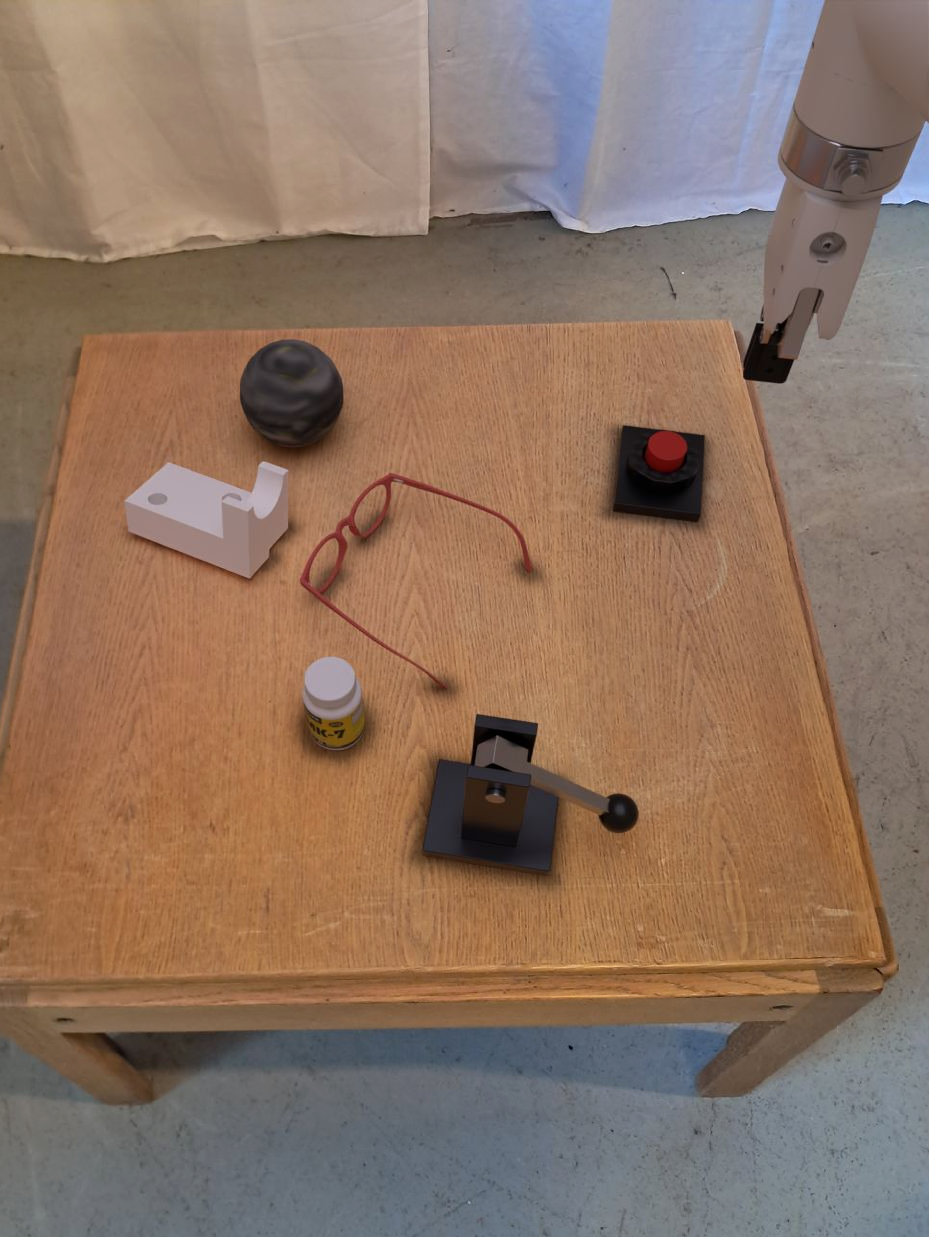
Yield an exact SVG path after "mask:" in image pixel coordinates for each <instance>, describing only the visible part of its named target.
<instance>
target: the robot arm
mask: <svg viewBox="0 0 929 1237" xmlns="http://www.w3.org/2000/svg"><path fill="white" fill-rule="evenodd" d="M926 123H928V124H929V0H824V2H823V5H822V8H821V11H820V15H819V17H818V20H817V25H816V28H815V30H814V34H813V37H812V41H811V44H810V48H809V51H808V55H807V58H806V61H805V64H804V67H803V70H802V74H801V77H800V80H799V83H798V87H797V90H796V94H795V98H794V100H793V104H792V106H791V111H790V113H789V116H788V120H787V123H786V127H785V130H784V133H783V136H782V140H781V143H780V147H779V150H778V153H777V164H778V167H779V169H780V171H781V172H782V174H783V176H784V177H785V181H784V183H783V186H782V189H781V192H780V195H779V198H778V201H777V204H776V208H775V211H774V213H773V217H772V219H771V220H772V221H771V224H770V228H769V231H768V235H767V240H766V246H765V252H764V263H763V264H764V266H763V267H764V268H763V304H762V306H761V310H760V315H759V322H756V323H755V326H754V329H753V332H752V335H751V337H750V340H749V343H748V346H747V349H746V352H745V356H744V358H743V361H742V362H743V364H742V368H743V371H742V379H743V380H745V381H752V382H761V383H769V384H781V385H783V384H784V383H786V382H787V380H788V377H789V376H790V373H791V372H790V371H791V370H792V367H793V366H794V362H795V360H798V359H799V356H800V352H801V349H802V346H803V343H804V340H805V337H806V334H807V331H808V329H809V327H810V325H811V322H812V320H813V318H814V316H815V314H816V321H817V322H816V324H817V332H818V339H819V340H820V339H823V340H826V341H831V340H832V339H834V338H835V337H836V336H837V334H838V333H839V331H840V328H841V326H842V323H843V320H844V318H845V315H846V312H847V309H848V307H849V304H850V301H851V299H852V296H853V293H854V290H855V288H856V285H857V282H858V280H859V277H860V274H861V271H862V268H863V266H864V262H865V260H866V257H867V254H868V251H869V249H870V248H869V247H870V245H871V241H872V239H873V235H874V231H875V228H876V226H877V225H876V224H877V221H878V218H879V213H880V211H881V205H882V201H883V197H884V196H885V195H887V194H889V193H891V192H892V191H893V190H894V189H896V188H897V186H898V185H899V184H900V183H901V181H902V179H903V176H904V174H905V172H906V169H907V167H908V164H909V162H910V159H911V158H912V155H913V152H914V150H915V148H916V145H917V143H918V140H919V138H920V136H921V135H922V134H921V133H922V131H923V129H924V127H925V124H926ZM762 322H763V323H762Z"/></svg>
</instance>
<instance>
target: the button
mask: <svg viewBox="0 0 929 1237" xmlns="http://www.w3.org/2000/svg"><path fill="white" fill-rule="evenodd" d="M670 431H671V430H669V431H661V432H658V433H655V434H654V435H652V436H651V438H650V439H649V442H648V445H647V449H646V453H645V460H646V462H647V464H648V465H649V466H650V467H651V468H653V469H654V470H656V471H659V472H673V471H675V470H677V469H678V468H680V466H681V465H682V463H683V460H684V457H685V454H686V451H687V444H686V441H685V440H684V439H683V438H682V437H681V436H680V435H678V434H677V433H674V432H670Z"/></svg>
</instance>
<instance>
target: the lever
mask: <svg viewBox="0 0 929 1237" xmlns="http://www.w3.org/2000/svg"><path fill="white" fill-rule="evenodd" d="M527 755H528V749H526V748H524V747H522V746H520V745H517V744H515V743H513V742H511V741H509V740H507V739H504V738H502V737H500V736H498V735H496V736H494V737H492V738H490V739H488V740H487V741H485V742H483V743H481V744H479V745H478V747H477V753H476V759H475V765H474V766H480V767H487V768H493V769H499V770H506V771H512V772H519V773H525V774H531V782H530V785H533V786H535V787H537V788H539V789H542V790H544V791H546V792H548V793H551V794H553V795H555V796H557V797H559V798H560V799H562V800H564V801H567V802H568V803H571V804H573V805H575V806H578V807H580V808H582V809H584V810H587V811H590V812H591V813H594V814H596V815H597V816H598V820H599V822H600V824H601V826H602V827H603V828H604V829H605V830H606V831H608V832H610V833H613V834H626V833H628V832H630V831H631V830H633V829H634V827H636V825H637V823H638V820H639V819H640V818H639V817H640V811H639V807H638V805H637V803H636V801H635V800H634V799H633V798H632V797H631V796H629V795H627V794H626V793H625V794H624V793H619V792H617V793H616V792H615V793H611V794H608V795H607V796H604V795H601V794H599V793H597V792H595V791H593V790H591V789H588V788H586V787H584V786H583V785H582V786H581V785H580V784H578V783H575V782H573V781H571V780H568V779H566V778H564V777H562V776H560V775H557V774H555V773H553V772H550V771H548V770H546V769H544V768H542V767H540V766H538V765H536V764H534V763H532V762H531V763H529V762H527Z"/></svg>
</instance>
